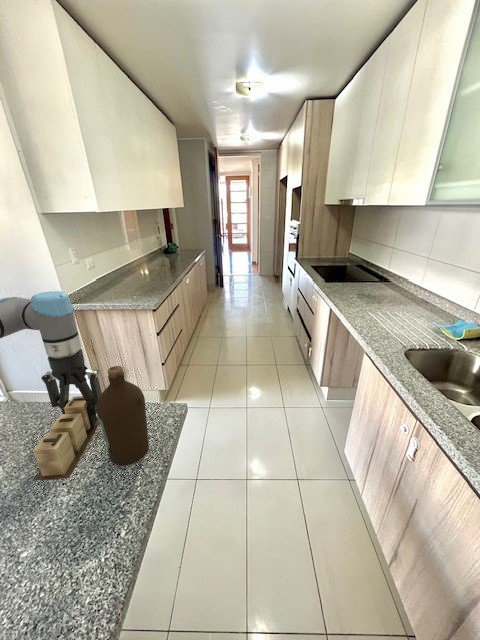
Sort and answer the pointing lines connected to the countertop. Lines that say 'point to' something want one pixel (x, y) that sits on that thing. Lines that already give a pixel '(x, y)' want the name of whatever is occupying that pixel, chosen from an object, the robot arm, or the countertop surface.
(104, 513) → the countertop surface
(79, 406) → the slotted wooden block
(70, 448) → the letter T
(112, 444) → the olive oil
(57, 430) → the letter I
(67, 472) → the word board
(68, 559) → the countertop surface
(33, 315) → the robot arm
